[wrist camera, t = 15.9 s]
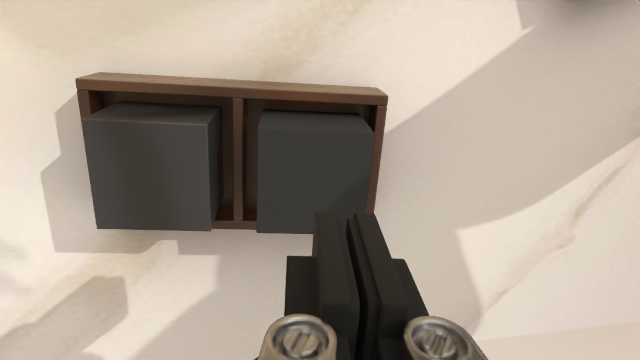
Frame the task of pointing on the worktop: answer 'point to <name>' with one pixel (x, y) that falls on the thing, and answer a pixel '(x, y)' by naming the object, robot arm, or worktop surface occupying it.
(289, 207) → the block
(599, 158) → the worktop surface
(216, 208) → the partitioned wooden crate
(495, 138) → the worktop surface
